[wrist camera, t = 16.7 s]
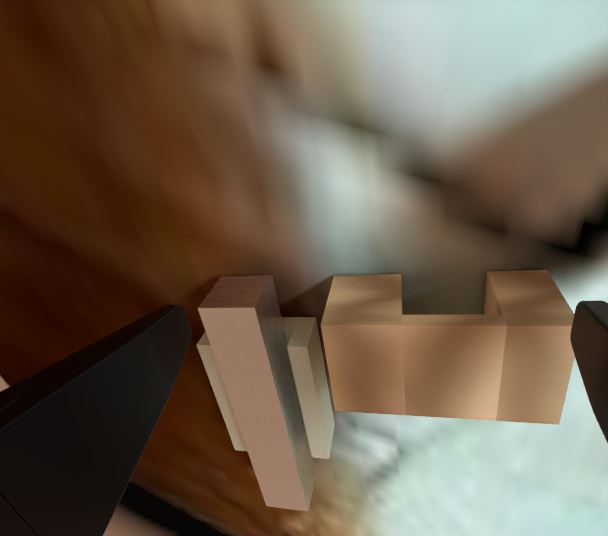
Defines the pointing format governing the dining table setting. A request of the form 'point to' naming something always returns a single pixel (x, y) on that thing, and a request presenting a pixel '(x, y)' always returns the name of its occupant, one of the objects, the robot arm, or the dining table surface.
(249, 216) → the dining table surface
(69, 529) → the robot arm
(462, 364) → the tan u-shaped block
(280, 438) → the pinkish brown square bar
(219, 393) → the cradle
